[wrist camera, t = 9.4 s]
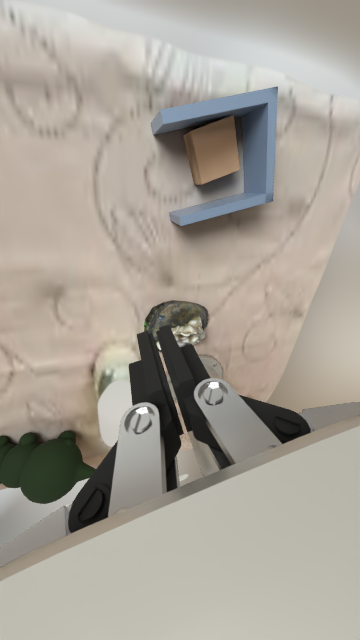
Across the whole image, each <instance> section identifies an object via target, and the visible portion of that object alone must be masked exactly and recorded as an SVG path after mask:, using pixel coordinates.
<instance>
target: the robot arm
mask: <svg viewBox="0 0 360 640" xmlns="http://www.w3.org/2000/svg"><path fill="white" fill-rule="evenodd" d="M156 335H157V338H158V341H159V344H160V348H161V351H162V354H163V357H164V361H165V364H166V367H167V370H168V375H167V377H166V374H165V371H164V368H163V365H162V361H161V358H160V355H159V352H158V349H157V346H156V343H155V340H154V336H153V333H149V334H148V332H147V331H146V332H143V333H140V334H137V338H138V344H139V349H140V355H141V360H140V361H137V362H134V363H131V364H129V373H130V383H131V394H132V403H133V406H132V407H131V408H129V410H127V411H126V413H125V414H124V416H123V417H122V419H121V423H120V429H119V436H118V441H117V442H116V443H115V445H114V446H113V448H112V449H111V450H110V452H109V453H108V454H107V456H106V457H105V458H104V460H103V461H102V462H101V464H100V465H99V466H98V468H97V469H96V470H95V472H94V473H93V474H92V476H91V477H90V478H89V480H88V481H87V483H86V484H85V485H84V487H83V488H82V489H81V491H80V492H79V493H78V495H77V496H76V498H75V500H74V501H73V503H72V504H71V505H69V506H68V507H65V506H62V507H61V508H59V509H58V510H56V511H55V512H53V513H52V514H50V515H49V516H47V517H46V518H44V519H43V520H41V521H40V522H38V523H37V524H35V525H34V526H32V527H31V528H29V529H27V530H26V531H24V532H23V533H21V534H20V535H18V536H17V537H15V538H14V539H12V540H11V541H9V542H8V543H6V544H5V545H3V546H2V547H0V640H360V402H351V403H344V404H337V405H331V406H323V407H316V408H309V409H303V410H302V413H296V412H294V411H291V410H289V409H285V408H282V407H278V406H275V405H272V404H268V403H265V402H261V401H258V400H254V399H251V398H248V397H244V396H241V395H238V394H237V393H236V392H235V390H234V389H233V388H232V387H231V386H230V385H229V384H228V383H227V382H226V381H224V380H222V376H223V370H222V367H221V365H220V364H219V362H218V361H217V360H216V359H214V358H212V357H210V356H205V355H198V354H197V352H196V351H195V349H194V347H193V345H192V344H188V345H185V346H182V347H179V345H178V343H177V341H176V339H175V336H174V334H173V332H172V330H171V328H170V326H169V324H168V325H165V326H162V327H159V331H156ZM174 401H177V402H178V405H179V408H180V411H181V414H182V417H183V420H184V423H185V426H186V429H187V432H188V434H189V437H190V440H191V443H192V446H193V449H194V452H195V455H196V458H197V461H198V464H199V467H200V470H201V473H202V475H203V478H200V479H198V480H196V481H193V482H191V483H188V484H186V485H184V486H182V487H180V484H179V474H178V464H177V458H176V455H177V453H178V451H179V449H180V447H181V440H180V437H179V435H182V434H184V433H183V430H182V426H181V423H180V420H179V417H178V413H177V410H176V407H175V403H174Z"/></svg>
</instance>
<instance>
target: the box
mask: <svg viewBox="0 0 360 640" xmlns="http://www.w3.org/2000/svg"><path fill="white" fill-rule="evenodd" d="M277 93H278V87H273V88H268V89H263V90H258V91H253V92H248V93H243V94H238V95H233V96H228V97H223V98H218V99H213V100H208V101H203V102H197V103H192V104H187V105H182V106H177V107H172V108H167V109H162V110H160V111H159V112H158V114H157V115H156V117H155V118H154V119H153V121H152V122H151V127H152V131H153V135H155V134H160V133H165V132H169V131H174V130H179V129H184V128H188V127H193V126H198V125H202V124H207V123H212V122H216V121H219V120H222V119H224V118H227V117H230V116H233V115H234V118H235V117H240V116H242V121H243V162H244V193H242V194H238V195H234V196H230V197H226V198H223V199H219V200H215V201H211V202H207V203H204V204H200V205H196V206H192V207H188V208H185V209H181V210H177V211H173V212H170V213H169V215H170V220H171V221H172V222H174V223H176V224H178V225H180V226H184V225H187V224H191V223H194V222H198V221H202V220H205V219H209V218H213V217H216V216H220V215H224V214H227V213H231V212H235V211H238V210H242V209H245V208H249V207H253V206H256V205H260V204H264V203H267V202H271V201H273V190H274V166H275V142H276V117H277Z"/></svg>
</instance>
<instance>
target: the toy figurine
mask: <svg viewBox="0 0 360 640" xmlns="http://www.w3.org/2000/svg"><path fill="white" fill-rule="evenodd" d="M35 442H36V436H35V434H33V433H26V434H24V435H23V436H22V437H21V438H20V441H19V444H18V445H16V446H15V445H13V444H7V443H8V439H7V437H6V436H0V484H1V483H2V484H3V485H5V486H6V487H9V488H19V487H21V490H22V492H23V494H24V495H25V496H26V497H27V498H28V499H29V500H30V501H32V502H36V503H41V504H46V503H51V502H53V501H56V500H58V499H60V498H61V497H63V496H64V495H66V494H67V493H68V492H69V491H70V490H71V489H72V488H73V487H74V485H75V484H76V483H77V482H78V481H81V480H84V479H87V478H90V477H91V476H92V474H93V473H94V472H95V470H96V469H94V468H93V467H91V466H89V465H87V464H85V463H84V462H83V460H82V454H81V451H80V449H79V448H78V446H77V445H76V444H75V443H76V440H75V434H74V433H73V432H72V431H64V432H63V433H61V434H60V436H59V437H58V439H52V440H49V441H46V442H44V443H42V444H41V445H39V444H37V443H35Z"/></svg>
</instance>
